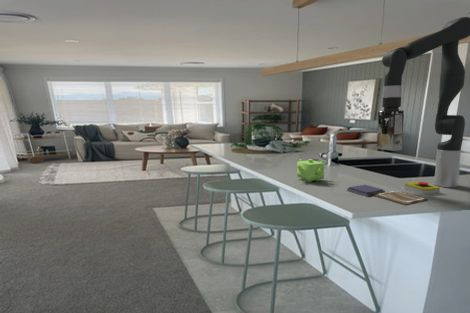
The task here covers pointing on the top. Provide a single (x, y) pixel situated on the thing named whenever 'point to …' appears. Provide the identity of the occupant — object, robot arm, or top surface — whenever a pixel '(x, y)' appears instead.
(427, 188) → the emergency button
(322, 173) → the green knobbed block
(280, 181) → the top surface
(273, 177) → the top surface
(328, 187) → the top surface
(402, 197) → the marked board
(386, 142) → the coffee box
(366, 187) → the ink pad
